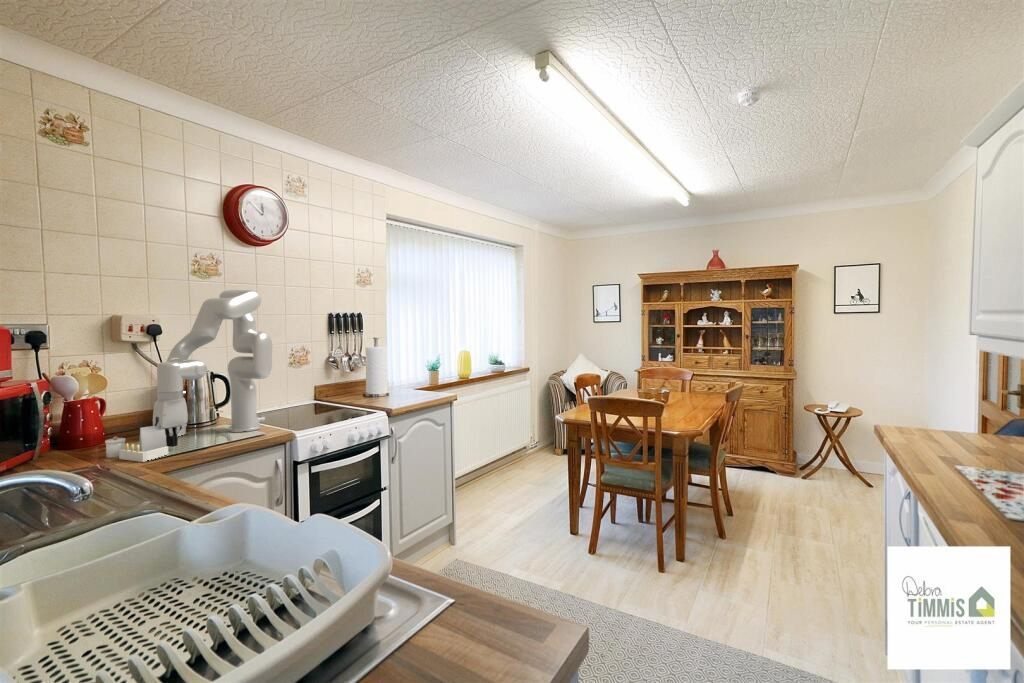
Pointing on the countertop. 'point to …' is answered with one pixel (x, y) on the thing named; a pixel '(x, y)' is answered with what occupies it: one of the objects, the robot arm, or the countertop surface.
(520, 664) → the countertop surface
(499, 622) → the countertop surface
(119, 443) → the sugar pot
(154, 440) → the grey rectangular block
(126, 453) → the header block
